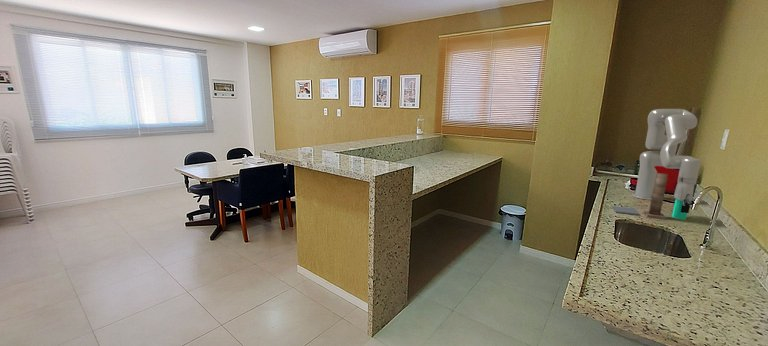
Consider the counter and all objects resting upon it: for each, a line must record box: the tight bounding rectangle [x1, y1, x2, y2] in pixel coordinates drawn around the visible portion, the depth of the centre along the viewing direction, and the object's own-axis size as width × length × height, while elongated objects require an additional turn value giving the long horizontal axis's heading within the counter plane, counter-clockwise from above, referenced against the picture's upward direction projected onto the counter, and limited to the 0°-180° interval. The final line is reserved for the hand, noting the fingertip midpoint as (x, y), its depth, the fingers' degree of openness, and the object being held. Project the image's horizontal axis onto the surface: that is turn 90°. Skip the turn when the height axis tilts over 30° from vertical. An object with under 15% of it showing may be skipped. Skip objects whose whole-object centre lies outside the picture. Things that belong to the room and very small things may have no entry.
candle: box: [671, 199, 688, 220], centre depth 177 cm, size 6×6×12 cm
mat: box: [611, 205, 640, 216], centre depth 188 cm, size 11×11×1 cm
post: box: [642, 172, 669, 220], centre depth 178 cm, size 8×8×25 cm
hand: (680, 209), depth 177 cm, fingers open, 9 cm apart
